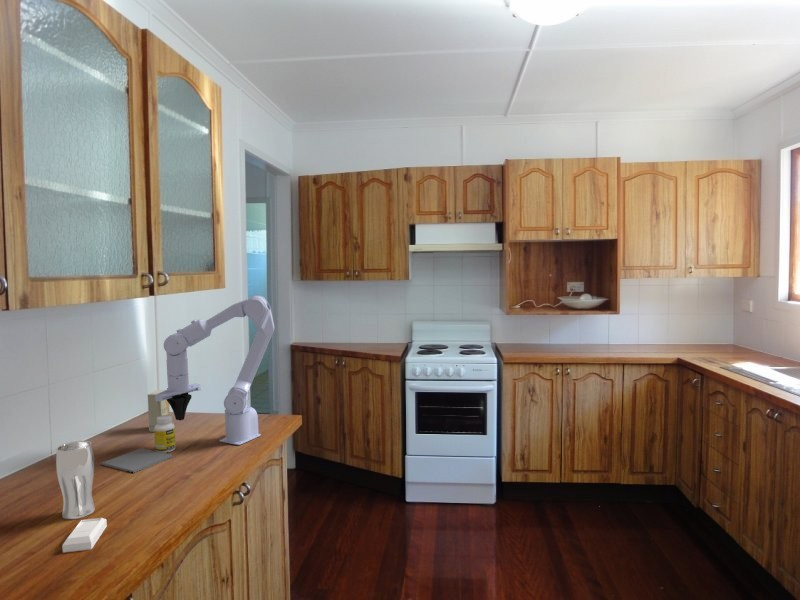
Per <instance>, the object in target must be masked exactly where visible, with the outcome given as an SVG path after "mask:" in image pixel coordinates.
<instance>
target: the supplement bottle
mask: <svg viewBox="0 0 800 600" xmlns="http://www.w3.org/2000/svg"><path fill="white" fill-rule="evenodd" d="M172 418H173V417H172V415H171V414H170V415H163V416H159V417H157V423H158V424H157V425H156V426H155V427H154V432H153V433H154V451H156V452H161V453H165V454H168V453H170V452H173V451H174V450H175V449H176V427H175V426H176V425H175V423H173V419H172ZM167 452H168V453H167Z"/></svg>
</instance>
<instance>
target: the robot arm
mask: <svg viewBox="0 0 800 600" xmlns="http://www.w3.org/2000/svg"><path fill="white" fill-rule="evenodd" d="M245 316H247V318H249V319H250V320H251V321H252V323H253V324H254V326H255V327H254V328H256V333H255V336H254V338H253V340H252V343H251V345H250V348H249V350H248V353H247V355H246V358H245V360H244V362H243V364H242V367H241V369H240V372H239V373H238V375H237V376H238V377H237V378H236V380H235V383H234V385H233V386H232V387H231V388H229V391H228V393H227V395H226V396H225V398H224V401H223V406H224V408H225V409H224V421H225V422H224V424H225V426H224V427H225V437H223V438H220V439H219V442H220V443H226V444H231V445H236V446H241V445H243V444H245V443H247V442H250V441H251V440H254V439H256V438H258V437H260V436H261V435H262V434H261V433H259V417H258V416H259V415H258V413H257V410H256V409H255V408H254V407H252V406H249V405H248V404H247V403H248V401H249V398H250V389H251V386H252V383H253V381H254V378H255V376H256V375H257V374H256V373H257V372H258V369H259V367H260V365H261V361H262V360H263V358H264V355H265V353H266V350H267V348H268V346H269V343H270V341H271V338H272V336H273V334H274V331H275V324H274V318H273V313H272V306H271V305H270V303H269V301H268V300H267V298H265V297H264V296H262V295H260V294H259V295H258V294H257V295H256V294H255V295H252V296H250V298H245V299H243V300H241V301H238V302H236V303H234V304H232V305H231V306H228V307H227V308H225V309H223V310H221V312H218V313H217V314H215V315H213V316H212V317H210V318H208V319H207V320H206V319H201V318H198V319H197V320H196V319H193V320H191V322H190V324H189V325H187V326H185V327H184V328H179V329H177V330H176V332H175V333H173V334H170V335H169V336H167V338H165V340H164V341H163V349H164V351H165V352H166V353H165V354H166V374H167V375H166V377H167V388H166V389H165V391H163V392H161V393H158V394H155V401H159V402H161V401H163V400H165V399H166V400H167V401H168V403H169V407H171V408H170V409H171V410H172V412H173V414H174V417H175V420H176V421H183V420H185V418H186V417H185V416H186V413H187V408H188V405H189V404H190V401H191V399H192V394H189V393H193V392H196V391H197V392H198V391H201V388H202V387H201V383H196V382H195V383H192V384H191V383H190V384H189V364H188V356H187V355H188V354H187V353H188V351H187V349H188V347H193V346H195V345H196V344H198V343H200V342H202V341H203V340H205V339H207V338H209V337H210V336H211V333H212V330H214V329H215V328H217V327H219V326H221V325H223V324H224V323H227V322H228V321H230V320H232V319H234V318H245Z"/></svg>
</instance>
